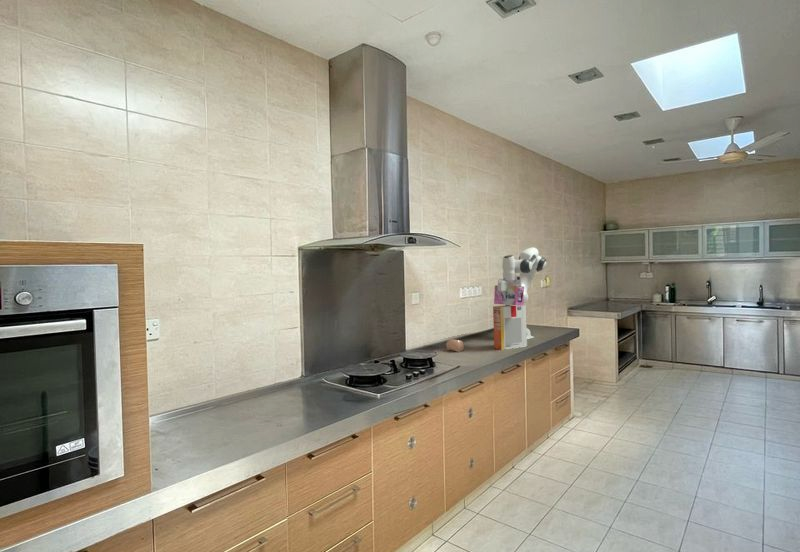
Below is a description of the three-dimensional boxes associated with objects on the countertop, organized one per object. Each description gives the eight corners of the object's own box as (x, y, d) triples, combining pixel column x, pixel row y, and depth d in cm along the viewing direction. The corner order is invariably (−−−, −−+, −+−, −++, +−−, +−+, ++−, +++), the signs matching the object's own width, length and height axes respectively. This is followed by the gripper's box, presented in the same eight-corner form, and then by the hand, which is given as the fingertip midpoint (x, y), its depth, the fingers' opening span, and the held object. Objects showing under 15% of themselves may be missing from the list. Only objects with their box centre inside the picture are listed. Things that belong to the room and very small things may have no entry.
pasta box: (519, 344, 316) (518, 304, 316) (527, 346, 309) (525, 305, 308) (494, 348, 306) (493, 306, 306) (501, 350, 299) (500, 307, 298)
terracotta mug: (444, 347, 302) (453, 348, 294) (448, 337, 304) (458, 338, 297) (453, 353, 307) (462, 355, 300) (457, 343, 309) (466, 344, 302)
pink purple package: (525, 305, 297) (526, 286, 298) (516, 305, 294) (517, 285, 294) (501, 304, 318) (502, 285, 319) (493, 303, 315) (494, 285, 315)
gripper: (501, 278, 298) (502, 298, 298) (522, 277, 308) (523, 296, 309) (495, 278, 303) (495, 298, 304) (515, 277, 314) (516, 296, 314)
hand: (509, 297), depth 306 cm, fingers closed on pink purple package, 7 cm apart
